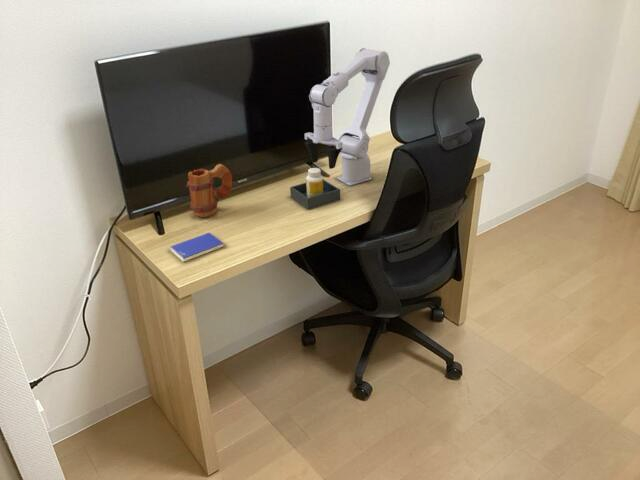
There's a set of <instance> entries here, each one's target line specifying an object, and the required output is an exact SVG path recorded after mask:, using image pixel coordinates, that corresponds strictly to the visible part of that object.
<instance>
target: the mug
mask: <svg viewBox="0 0 640 480" xmlns="http://www.w3.org/2000/svg"><path fill="white" fill-rule="evenodd" d="M192 171H193V170H192ZM192 171H189V172H188V174H187V179H188V180H189V181H188V180H187V183H186V185H185V188H186V189H188V190H189V195H190V201H191V202H190V206H189V207H188V209H189V210H190V211H192V213H193V215H195V216H197V217H200V218H201V217H202V218H206V217H210V216H212V215H214V214H215V213H216V212H217V211H218V202H219V199H218V198H221V199H224V200H225V199H226V198H227V197H228V195H229V194H230V191H231V189H232V186H233V176H232V172H231V171H230V170H229V169H228V167H226V165H224V164H222V163H218V164H216V165H215V167H214V168H213V169H210V170H208V169H205V168H199V169H197V170H195V169H194V171H193V172H192ZM215 178H219V179H222V180H221V181H222V182H221V185H220V187H219V188H214V182H215ZM217 197H218V198H217Z"/></svg>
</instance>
